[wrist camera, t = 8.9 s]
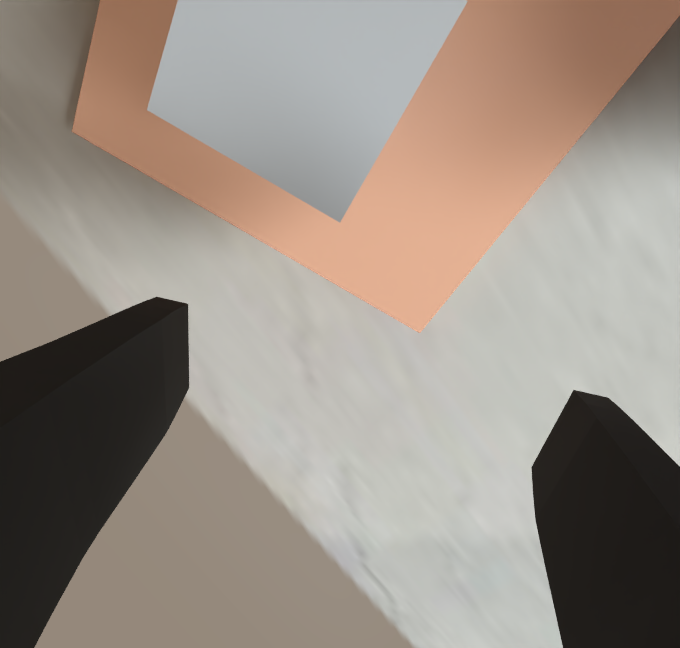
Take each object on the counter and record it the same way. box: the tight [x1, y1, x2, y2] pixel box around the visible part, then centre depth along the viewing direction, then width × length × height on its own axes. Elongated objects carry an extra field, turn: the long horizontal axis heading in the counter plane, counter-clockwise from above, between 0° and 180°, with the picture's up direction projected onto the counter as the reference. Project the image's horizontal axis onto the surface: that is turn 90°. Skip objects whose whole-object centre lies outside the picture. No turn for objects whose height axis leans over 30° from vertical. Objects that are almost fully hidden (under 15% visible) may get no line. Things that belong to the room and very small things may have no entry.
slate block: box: [147, 0, 468, 222], centre depth 11 cm, size 4×4×7 cm
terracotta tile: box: [72, 0, 680, 333], centre depth 14 cm, size 14×13×1 cm
